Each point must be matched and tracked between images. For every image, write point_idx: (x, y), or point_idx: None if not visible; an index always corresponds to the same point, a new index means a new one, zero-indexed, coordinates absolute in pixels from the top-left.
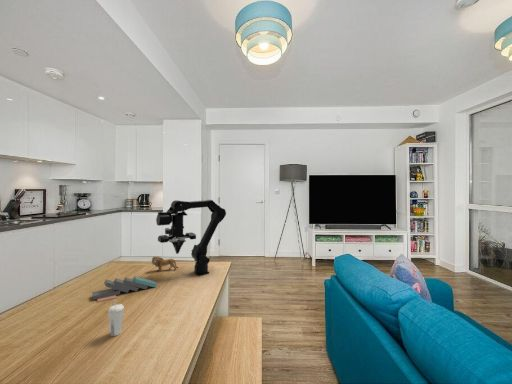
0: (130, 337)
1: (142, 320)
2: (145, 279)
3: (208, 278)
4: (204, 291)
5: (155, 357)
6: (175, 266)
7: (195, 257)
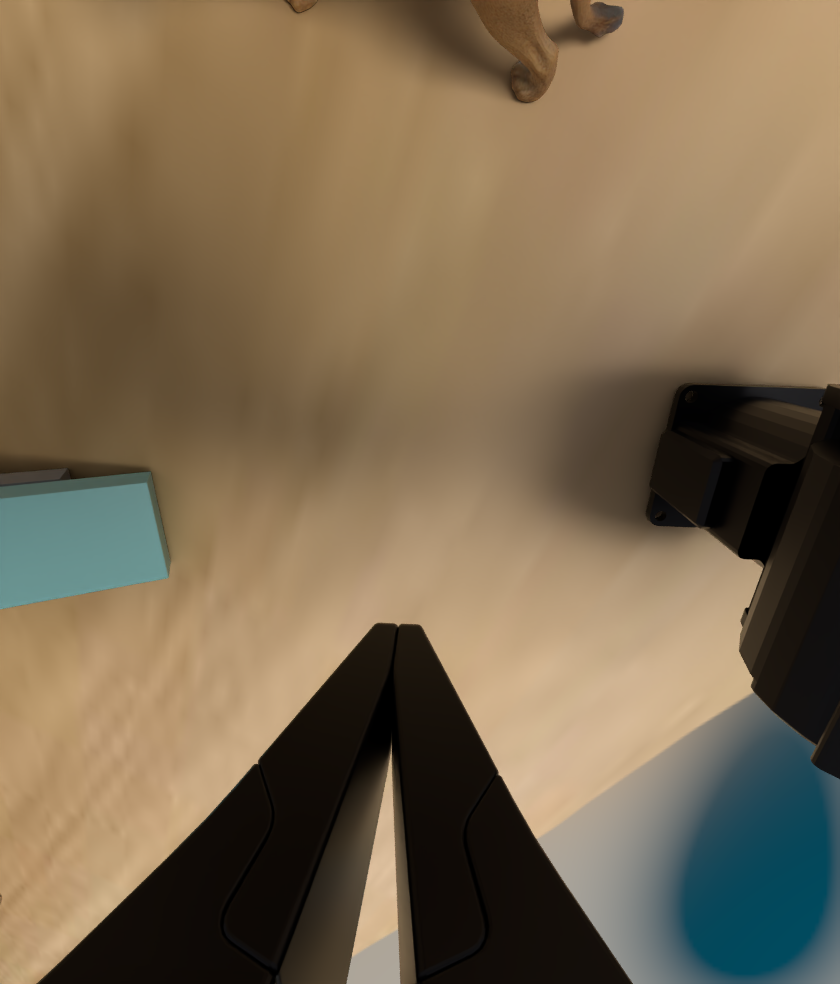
0: (42, 932)
1: (80, 873)
2: (20, 523)
3: (662, 634)
4: None
5: None
6: (552, 61)
7: (754, 654)
